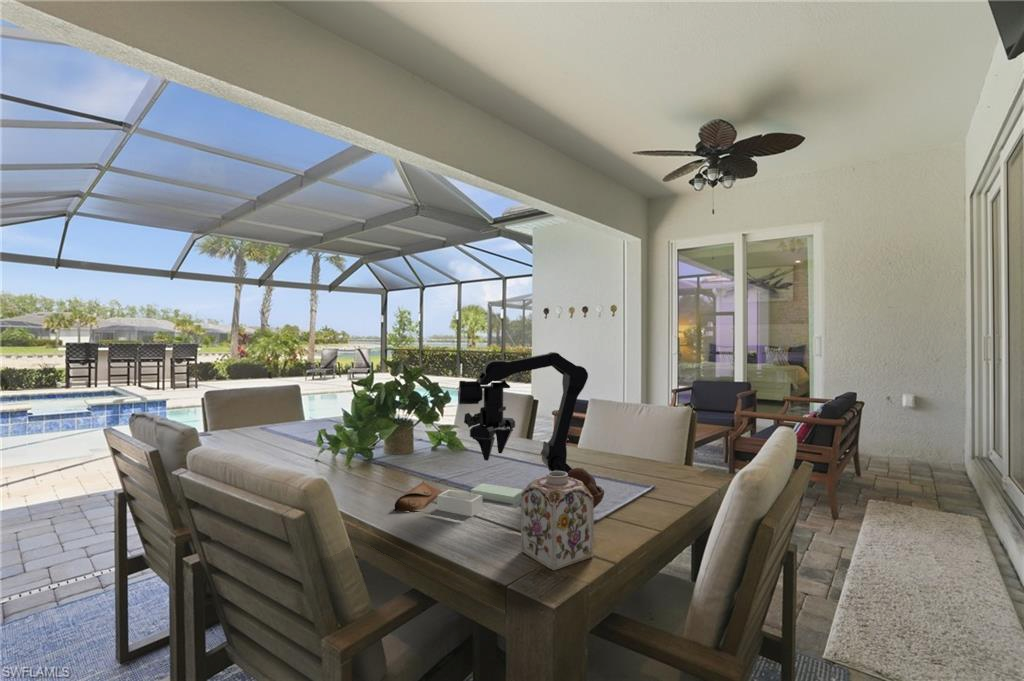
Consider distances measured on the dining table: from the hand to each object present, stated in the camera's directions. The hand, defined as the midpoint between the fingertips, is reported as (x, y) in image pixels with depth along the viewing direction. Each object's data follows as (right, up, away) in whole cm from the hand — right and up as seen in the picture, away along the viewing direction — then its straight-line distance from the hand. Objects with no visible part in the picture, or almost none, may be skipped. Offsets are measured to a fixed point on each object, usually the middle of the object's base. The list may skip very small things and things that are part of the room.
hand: (493, 456), depth 143 cm
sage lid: (+1, -12, 0) cm, 12 cm away
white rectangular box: (-9, -13, -10) cm, 18 cm away
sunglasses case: (-21, -13, -2) cm, 25 cm away
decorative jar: (+15, -13, -36) cm, 41 cm away
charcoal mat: (+1, -12, 0) cm, 12 cm away
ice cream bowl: (+23, -13, -21) cm, 33 cm away
